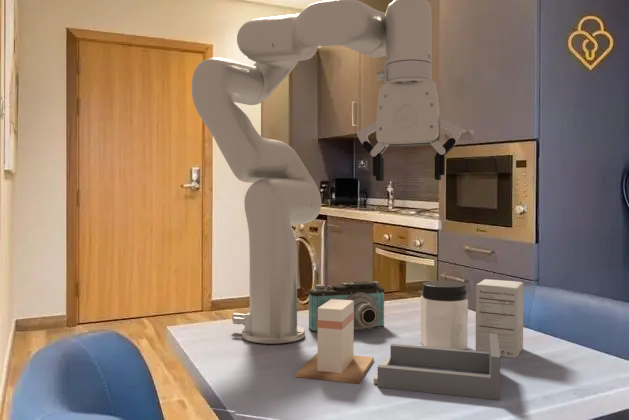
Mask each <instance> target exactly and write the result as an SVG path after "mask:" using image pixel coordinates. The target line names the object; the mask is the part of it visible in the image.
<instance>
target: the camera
mask: <svg viewBox="0 0 629 420" xmlns="http://www.w3.org/2000/svg"><path fill="white" fill-rule="evenodd" d="M331 299H337V300H354V331H359V330H360V329H361V330H369V329H368V328H372V329H379V328H378V327H383V328H384V327H385V287H382V286H380V282H379V281H376V280H374V281H372V282H369V281H367V280H366V281H364V280H363V281H353V282H350V283H348V282H342V284H333V285H332V286H331V285H327V286H326V287H325V284H315V288H312V289H309V290H308V330H309V331H310V332H312V333H316V334H318V328H317V320H318V308H319V307H320V306H322V305H323V304H325V303H326V302H328V301H329V300H331ZM361 330H360V331H361Z"/></svg>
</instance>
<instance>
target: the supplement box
mask: <svg viewBox="0 0 629 420" xmlns="http://www.w3.org/2000/svg"><path fill="white" fill-rule="evenodd" d="M489 334H497V336H498V344H499V352H500V357H505V358H510V359H517V358H518V357H519V355H520V354H521V352H522V350H523V349H524V282H522V281H517V280H515V281H514V280H503V279H502V280H501V279H490V278H489V279H486V278H485V279H483V280H481V281H480V282H479V283H476V284H475V351H486V352H489Z"/></svg>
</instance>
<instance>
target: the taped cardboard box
mask: <svg viewBox="0 0 629 420" xmlns="http://www.w3.org/2000/svg"><path fill="white" fill-rule="evenodd" d="M317 328H318V333H317V353H318V354H317V353H316V354H317V371H324V372H334V373H343V371H344V370H345V369H346V368H347V366H348V365H349V364H350V363H351V361H352V360H353V355H354V340H355V339H354V336H355V335H354V331H355V330H354V300H337V299H331V300H329V301H328V302H326V303H325V304H323V305H322V306H320V307H319V308H318V320H317Z"/></svg>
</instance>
